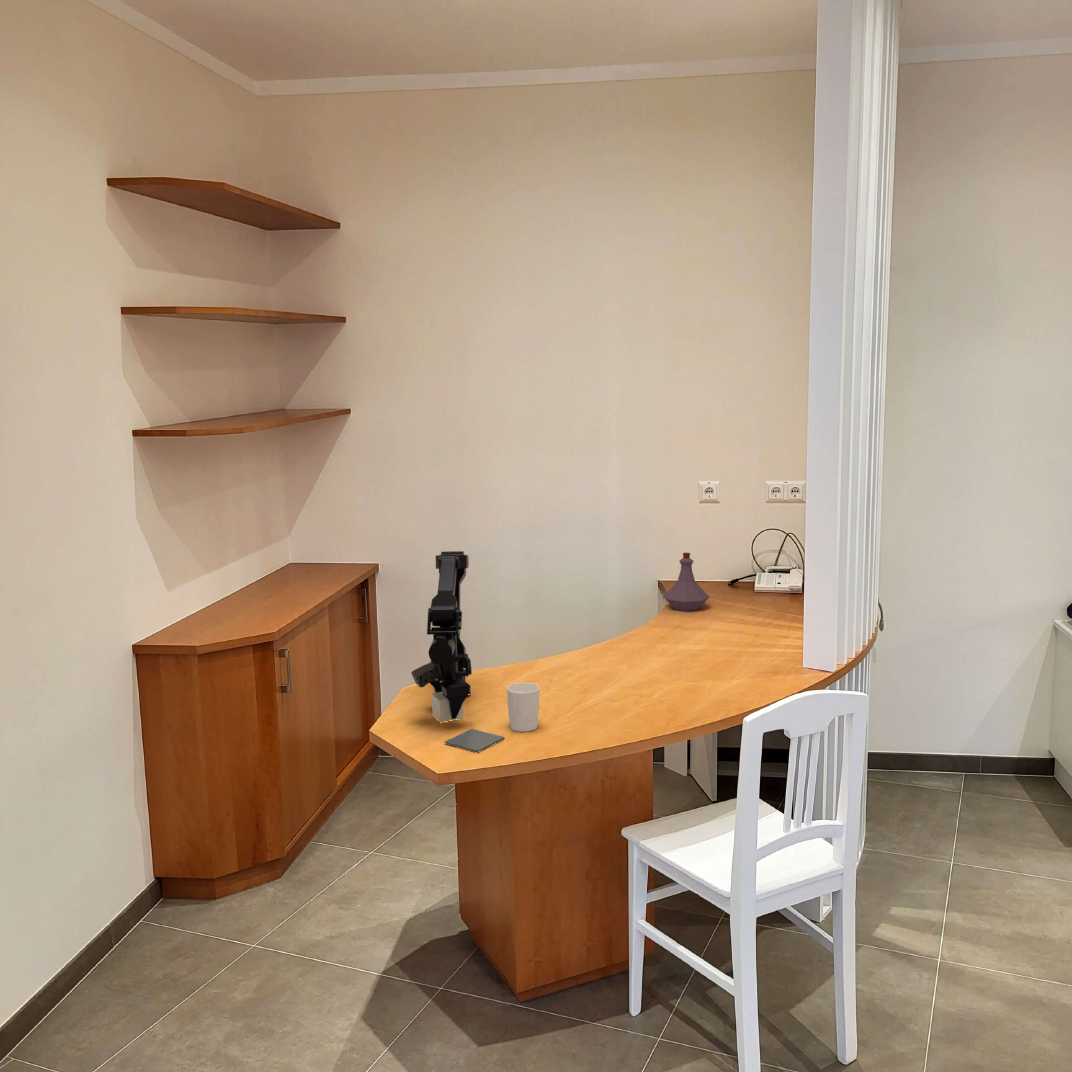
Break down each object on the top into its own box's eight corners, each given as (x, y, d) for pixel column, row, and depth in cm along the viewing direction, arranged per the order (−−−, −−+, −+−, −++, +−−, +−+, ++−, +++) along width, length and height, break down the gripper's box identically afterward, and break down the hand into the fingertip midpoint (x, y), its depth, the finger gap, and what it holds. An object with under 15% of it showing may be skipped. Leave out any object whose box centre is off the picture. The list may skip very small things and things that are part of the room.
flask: (709, 614, 345) (709, 557, 341) (661, 613, 348) (661, 557, 344) (709, 603, 361) (710, 549, 357) (664, 602, 364) (664, 548, 360)
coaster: (471, 731, 239) (471, 728, 238) (504, 739, 233) (504, 737, 233) (444, 744, 231) (444, 741, 231) (477, 753, 225) (477, 750, 225)
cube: (432, 716, 250) (431, 693, 249) (455, 712, 252) (454, 689, 251) (440, 723, 244) (439, 700, 243) (463, 719, 247) (462, 696, 246)
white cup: (539, 720, 245) (538, 682, 243) (540, 732, 237) (540, 692, 235) (507, 721, 244) (506, 683, 243) (507, 733, 237) (506, 693, 235)
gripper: (403, 647, 250) (405, 706, 253) (426, 667, 234) (428, 730, 236) (444, 641, 255) (446, 699, 258) (470, 660, 238) (472, 722, 241)
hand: (447, 712), depth 248 cm, fingers open, 9 cm apart
